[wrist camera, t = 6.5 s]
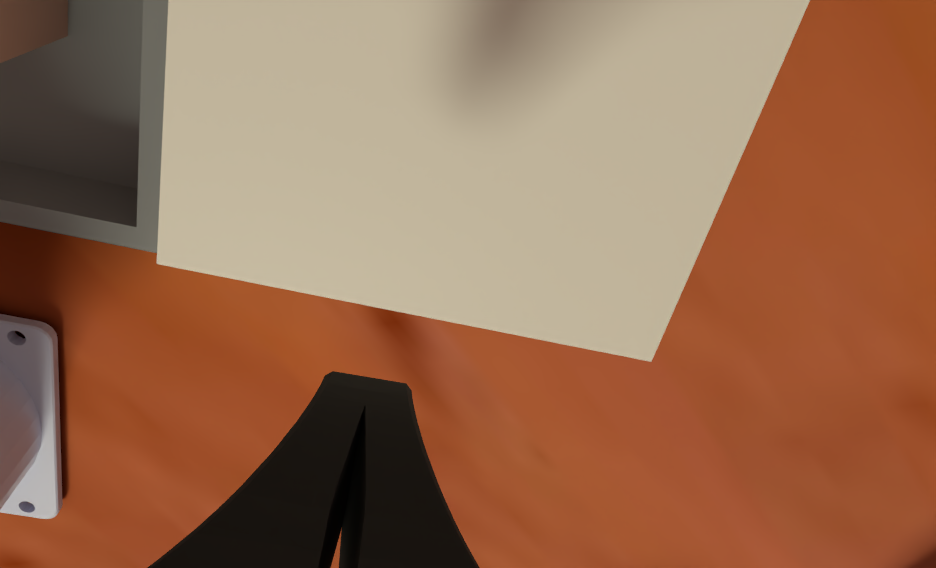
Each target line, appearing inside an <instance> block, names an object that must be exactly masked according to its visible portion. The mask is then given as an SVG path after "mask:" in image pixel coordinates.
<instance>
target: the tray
mask: <svg viewBox="0 0 936 568" xmlns="http://www.w3.org/2000/svg"><path fill="white" fill-rule="evenodd" d="M167 20H168V0H68V36H67V37H64V38H62V39H59V40H57V41H54V42H52V43H49V44H47V45H44V46H42V47H39V48H37V49H34V50H32V51H29V52H27V53H24V54H22V55H19V56H17V57H14V58H12V59H9V60H7V61H4V62H2V63H0V222H4V223H9V224H14V225H19V226H24V227H29V228H34V229H39V230H44V231H49V232H54V233H59V234H64V235H69V236H74V237H79V238H84V239H89V240H94V241H99V242H104V243H109V244H114V245H119V246H124V247H129V248H134V249H139V250H144V251H149V252H154V253H157V244H158V222H159V200H160V177H161V155H162V132H163V110H164V88H165V65H166V43H167Z"/></svg>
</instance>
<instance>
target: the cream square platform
mask: <svg viewBox="0 0 936 568" xmlns="http://www.w3.org/2000/svg"><path fill="white" fill-rule="evenodd" d="M809 1H810V0H168V20H167V43H166V65H165V88H164V110H163V132H162V155H161V177H160V200H159V222H158V244H157V264H160V265H165V266H170V267H175V268H180V269H185V270H191V271H196V272H201V273H206V274H211V275H216V276H221V277H226V278H231V279H236V280H241V281H246V282H251V283H256V284H261V285H266V286H271V287H276V288H281V289H286V290H292V291H297V292H302V293H307V294H312V295H317V296H322V297H327V298H332V299H337V300H342V301H347V302H352V303H357V304H362V305H367V306H372V307H377V308H382V309H387V310H393V311H398V312H403V313H408V314H413V315H418V316H423V317H428V318H433V319H438V320H443V321H448V322H453V323H458V324H463V325H468V326H473V327H478V328H483V329H488V330H494V331H499V332H504V333H509V334H514V335H519V336H524V337H529V338H534V339H539V340H544V341H549V342H554V343H559V344H564V345H569V346H574V347H579V348H584V349H589V350H595V351H600V352H605V353H610V354H615V355H620V356H625V357H630V358H635V359H640V360H645V361H650V362H651V361H652V359H653V357H654V354H655V352H656V350H657V348H658V345H659V343H660V341H661V338H662V336H663V334H664V332H665V329H666V327H667V325H668V322H669V320H670V318H671V316H672V313H673V311H674V309H675V307H676V304H677V302H678V300H679V297H680V295H681V293H682V291H683V288H684V286H685V284H686V281H687V279H688V277H689V275H690V272H691V270H692V268H693V266H694V263H695V261H696V259H697V256H698V254H699V252H700V250H701V247H702V245H703V243H704V240H705V238H706V236H707V234H708V231H709V229H710V227H711V224H712V222H713V220H714V218H715V215H716V213H717V211H718V209H719V206H720V204H721V202H722V199H723V197H724V195H725V193H726V190H727V188H728V186H729V183H730V181H731V179H732V177H733V174H734V172H735V170H736V168H737V165H738V163H739V161H740V158H741V156H742V154H743V152H744V149H745V147H746V145H747V142H748V140H749V138H750V136H751V133H752V131H753V129H754V127H755V124H756V122H757V120H758V117H759V115H760V113H761V111H762V108H763V106H764V104H765V101H766V99H767V97H768V95H769V92H770V90H771V88H772V86H773V83H774V81H775V79H776V76H777V74H778V72H779V70H780V67H781V65H782V63H783V60H784V58H785V56H786V54H787V51H788V49H789V47H790V45H791V42H792V40H793V38H794V35H795V33H796V31H797V29H798V26H799V24H800V22H801V19H802V17H803V15H804V13H805V10H806V8H807V6H808V3H809Z"/></svg>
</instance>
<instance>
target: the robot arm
mask: <svg viewBox="0 0 936 568" xmlns="http://www.w3.org/2000/svg"><path fill="white" fill-rule="evenodd" d="M15 331H19V332H21V333H22V334H23V335H24V336H25V338H22V337H20V336H18V335H17V334H16V333H15ZM29 502H30V503H29ZM61 508H62V472H61V438H60V404H59V370H58V338H57V334H56V332H55V331H54V329H53V328H52V327H51V326H49V325H48V324H47V323H44V322H41V321H37V320H31V319H26V318H20V317H15V316H10V315H4V314H0V512H2V513H8V514H15V515H22V516H28V517H35V518H41V519H50V518H53V517H55V516H56V515H57V514H58V513H59V511H60V509H61ZM341 528H342V533H341V546H340V559H339V568H479V566H478V564H477V563H476V561H475V559H474V557H473V555H472V554H471V552H470V550H469V548H468V547H467V545H466V543H465V541H464V539H463V537H462V535H461V533H460V531H459V529H458V527H457V525H456V523H455V521H454V519H453V516H452V514H451V512H450V510H449V508H448V505H447V503H446V501H445V499H444V497H443V494H442V492H441V489H440V487H439V485H438V482H437V479H436V477H435V474H434V471H433V469H432V466H431V463H430V461H429V458H428V455H427V452H426V449H425V446H424V443H423V440H422V437H421V433H420V430H419V426H418V423H417V419H416V415H415V410H414V405H413V400H412V391H411V389H410V388H409V387H408V385H407V384H406V383H400V382H394V381H388V380H382V379H376V378H370V377H364V376H358V375H352V374H346V373H340V372H334V371H332V372H331V373H329V374H327V375H325V377H324V379H323V381H322V383H321V385H320V387H319V389H318V390H317V392H316V394H315V396H314V397H313V399H312V400H311V402H310V403H309V405H308V406H307V408H306V409H305V411H304V412H303V413H302V415H301V416H300V418H299V419H298V420H297V422H296V423H295V424H294V426H293V427H292V428H291V429H290V431H289V432H288V433H287V434H286V436H285V437H284V438H283V439H282V441H281V442H280V443H279V445H278V446H277V447H276V448H275V449H274V451H273V452H272V453H271V454H270V455H269V456H268V457H267V459H266V460H265V461H264V462H263V463H262V464H261V465H260V466H259V467H258V468H257V469H256V471H255V472H254V473H253V474H252V475H251V476H250V477H249V478H248V479H247V480H246V481H245V483H244V484H243V485H242V486H241V487H240V488H239V489H238V490H237V491H236V492H235V493H234V494H233V495H232V496H231V497H230V498H229V499H228V500H227V501H226V502H225V503H224V504H222V505H221V506H220V507H219V508H218V509H217V510H216V511H215V512H214V513H213V514H212V515H211V516H209V517H208V518H207V519H206V520H205V521H204V522H203V523H202V524H201V525H200V526H198V527H197V528H196V529H195V530H194V531H193V532H191V533H190V534H189V535H188V536H186V537H185V538H184V539H183V540H182V541H180V542H179V543H178V544H177V545H176V546H174V547H173V548H172V549H171V550H169V551H168V552H167V553H166V554H165V555H163V556H162V557H161V558H160V559H158V560H157V561H156V562H154V563H153V564H152V565H150V566H149V567H148V568H330V567H331V564H332V560H333V557H334V553H335V550H336V546H337V542H338V539H339V535H340V532H341Z"/></svg>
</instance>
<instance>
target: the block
mask: <svg viewBox="0 0 936 568" xmlns="http://www.w3.org/2000/svg"><path fill="white" fill-rule="evenodd" d="M67 36H68V0H0V63H2V62H4V61H7V60H9V59H12V58H14V57H17V56H19V55H22V54H24V53H27V52H29V51H32V50H34V49H37V48H39V47H42V46H44V45H47V44H49V43H52V42H54V41H57V40H59V39H62V38H64V37H67Z"/></svg>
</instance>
